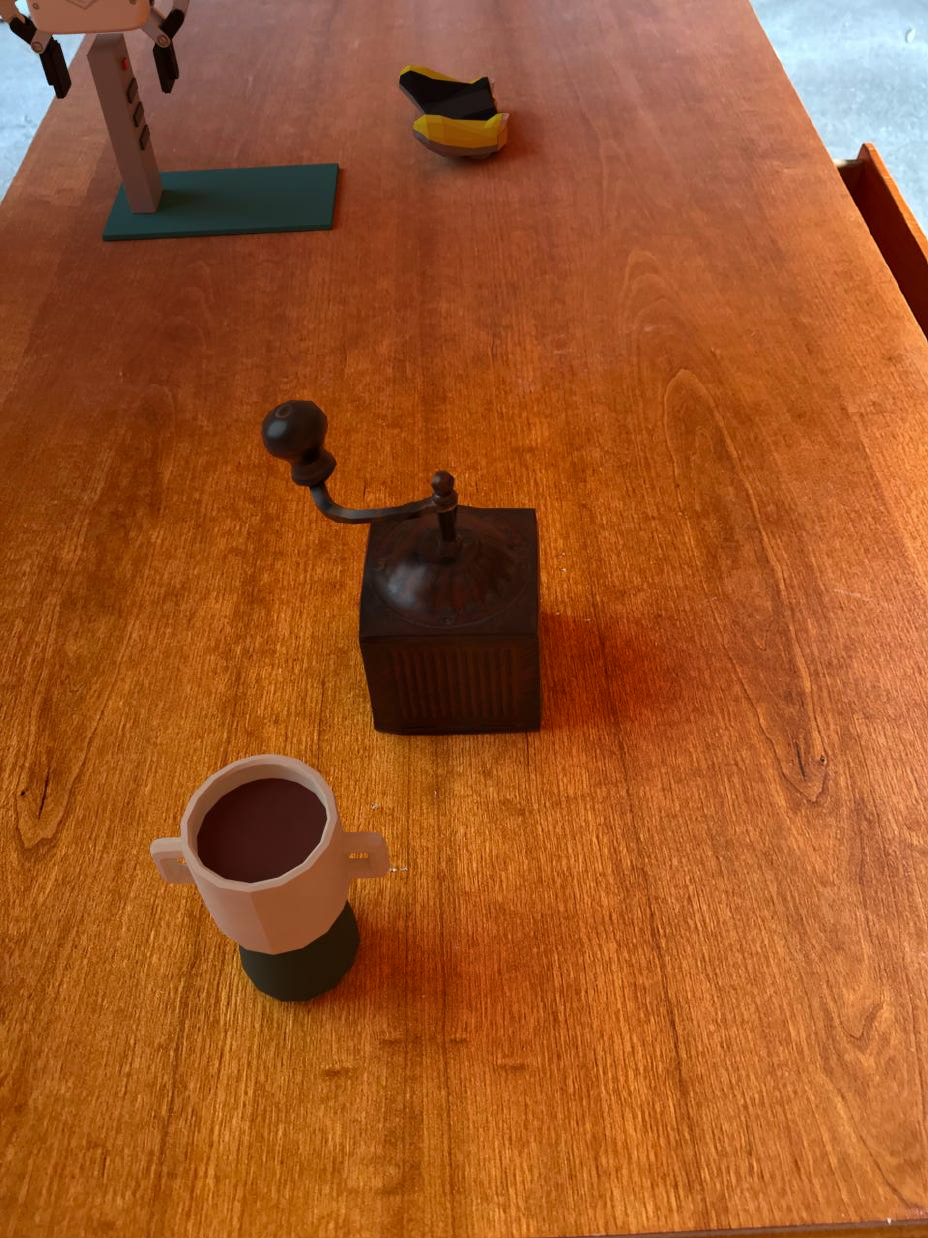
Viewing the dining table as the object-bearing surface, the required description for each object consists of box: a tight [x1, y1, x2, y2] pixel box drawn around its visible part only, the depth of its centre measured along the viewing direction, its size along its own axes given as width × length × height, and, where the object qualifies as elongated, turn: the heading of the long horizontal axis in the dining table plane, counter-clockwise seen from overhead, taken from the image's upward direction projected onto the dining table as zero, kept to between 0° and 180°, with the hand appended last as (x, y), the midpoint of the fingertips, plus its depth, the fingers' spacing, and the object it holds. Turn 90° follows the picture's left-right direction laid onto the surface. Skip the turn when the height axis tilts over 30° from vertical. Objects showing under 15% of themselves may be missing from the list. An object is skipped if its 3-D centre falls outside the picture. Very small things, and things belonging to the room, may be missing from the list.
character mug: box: [149, 753, 391, 1003], centre depth 55 cm, size 11×7×13 cm, turn 90°
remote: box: [86, 32, 163, 214], centre depth 107 cm, size 3×5×15 cm, turn 1°
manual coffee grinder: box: [260, 399, 544, 736], centre depth 66 cm, size 16×11×18 cm
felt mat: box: [101, 162, 340, 242], centre depth 113 cm, size 22×12×1 cm, turn 91°
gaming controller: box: [398, 64, 510, 160], centre depth 118 cm, size 15×6×10 cm
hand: (117, 89), depth 104 cm, fingers open, 9 cm apart
